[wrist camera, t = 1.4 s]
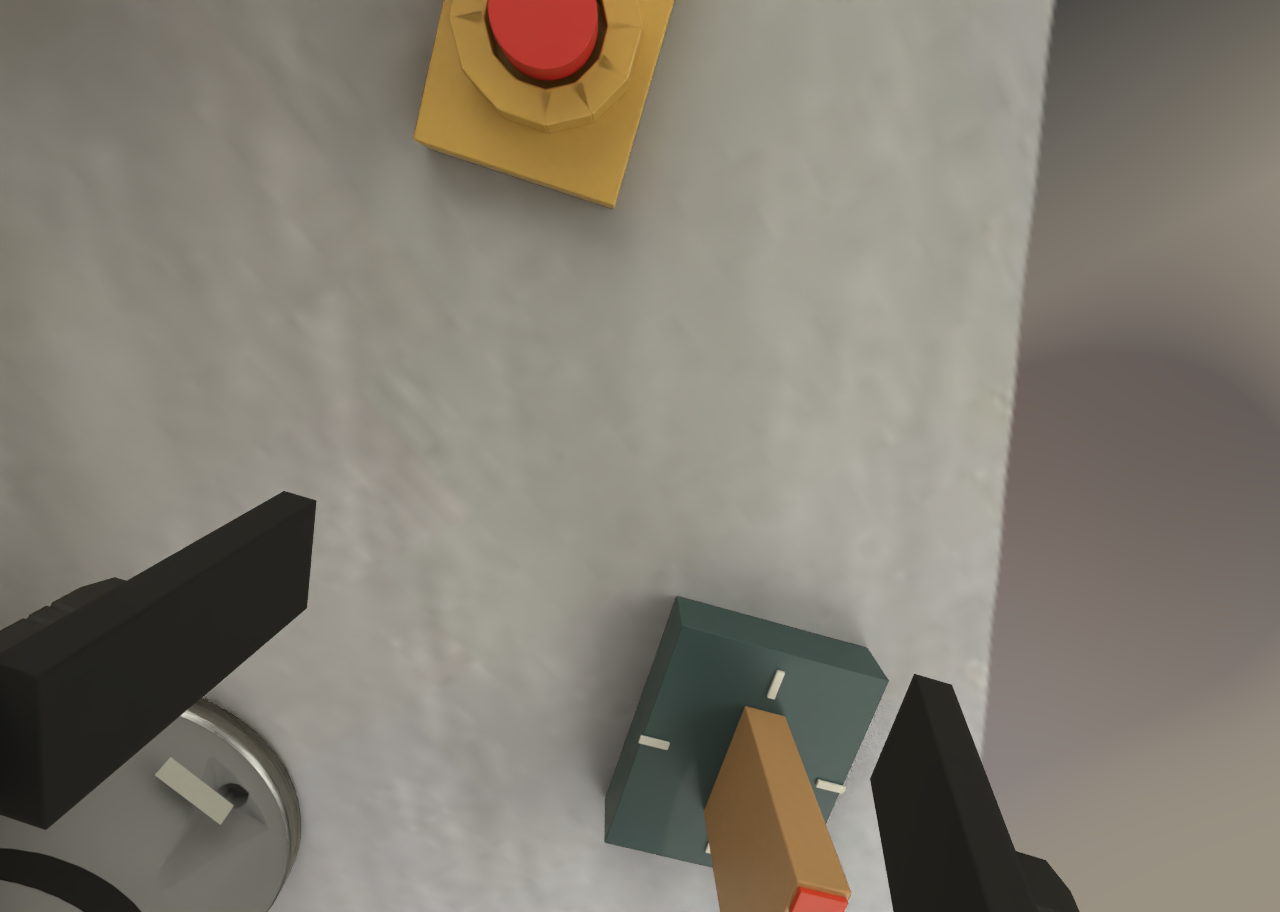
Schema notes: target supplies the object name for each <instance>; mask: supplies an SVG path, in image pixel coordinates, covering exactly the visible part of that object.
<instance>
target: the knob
mask: <svg viewBox="0 0 1280 912" xmlns="http://www.w3.org/2000/svg"><path fill="white" fill-rule="evenodd" d="M704 817H705V823H706V829H707V835H708V841H709V847H710V853H711V859H712V865H713V871H714V877H715V883H716V889H717V895H718V901H719V907H720V912H844V911H845V909H846V907H847V905H848V900H849V898H850V896H851V890H850V888H849V885H848V883H847V880H846V877H845V875H844V872H843V869H842V867H841V864H840V861H839V859H838V856H837V853H836V851H835V848H834V845H833V843H832V840H831V837H830V835H829V832H828V829H827V827H826V824H825V821H824V819H823V816H822V813H821V811H820V808H819V805H818V803H817V800H816V797H815V795H814V792H813V789H812V787H811V784H810V782H809V779H808V776H807V774H806V771H805V768H804V766H803V763H802V760H801V758H800V755H799V752H798V750H797V747H796V744H795V742H794V739H793V736H792V734H791V731H790V728H789V726H788V723H787V720H786V718H785V716H782V715H778V714H774V713H770V712H766V711H763V710H759V709H755V708H751V707H747V706H745V708H744V710H743V713H742V715H741V718H740V720H739V723H738V725H737V728H736V731H735V733H734V736H733V738H732V741H731V743H730V746H729V748H728V751H727V754H726V756H725V759H724V761H723V764H722V766H721V769H720V771H719V774H718V776H717V779H716V782H715V784H714V787H713V789H712V792H711V794H710V797H709V799H708V802H707V805H706V807H705V810H704Z"/></svg>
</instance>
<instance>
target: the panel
mask: <svg viewBox="0 0 1280 912" xmlns="http://www.w3.org/2000/svg"><path fill="white" fill-rule="evenodd" d="M888 682H889V680H888V679H887V677H886V676H885V674H884V673H883V671H882V670H881V668H880V666H879V665H878V663H877V662H876V660H875V659H874V657H873V656H872V654H871V653H870V651H869V650H868V648H865V647H862V646H858V645H854V644H851V643H847V642H843V641H840V640H836V639H832V638H829V637H825V636H821V635H818V634H814V633H810V632H807V631H803V630H799V629H796V628H792V627H789V626H785V625H781V624H778V623H774V622H770V621H767V620H763V619H759V618H756V617H752V616H748V615H745V614H741V613H737V612H734V611H730V610H726V609H723V608H719V607H715V606H712V605H708V604H704V603H701V602H697V601H693V600H690V599H686V598H682V597H679V596H677V597H676V599H675V602H674V605H673V608H672V611H671V613H670V616H669V619H668V622H667V625H666V628H665V631H664V633H663V636H662V639H661V642H660V645H659V648H658V650H657V653H656V656H655V659H654V662H653V665H652V667H651V670H650V673H649V676H648V679H647V682H646V684H645V687H644V690H643V693H642V696H641V699H640V701H639V704H638V707H637V710H636V713H635V716H634V718H633V721H632V724H631V727H630V730H629V733H628V735H627V738H626V741H625V744H624V747H623V750H622V752H621V755H620V758H619V761H618V764H617V767H616V770H615V772H614V775H613V778H612V781H611V784H610V787H609V789H608V792H607V795H606V798H605V843H609V844H613V845H618V846H622V847H626V848H631V849H635V850H639V851H643V852H648V853H652V854H656V855H661V856H665V857H669V858H674V859H678V860H682V861H686V862H691V863H695V864H699V865H704V866H708V867H712V868H713V865H712V859H711V853H710V847H709V841H708V835H707V829H706V823H705V817H704V810H705V807H706V805H707V802H708V799H709V797H710V794H711V792H712V789H713V787H714V784H715V782H716V779H717V776H718V774H719V771H720V769H721V766H722V764H723V761H724V759H725V756H726V754H727V751H728V748H729V746H730V743H731V741H732V738H733V736H734V733H735V731H736V728H737V725H738V723H739V720H740V718H741V715H742V713H743V710H744V708H745V706H747V707H751V708H755V709H759V710H763V711H766V712H770V713H774V714H778V715H782V716H785V718H786V720H787V723H788V726H789V728H790V731H791V734H792V736H793V739H794V742H795V744H796V747H797V750H798V752H799V755H800V758H801V760H802V763H803V766H804V768H805V771H806V774H807V776H808V779H809V782H810V784H811V787H812V789H813V792H814V795H815V797H816V800H817V803H818V805H819V808H820V811H821V813H822V816H823V819H824V821H825V824H826V822H827V820H828V818H829V815H830V813H831V811H832V808H833V806H834V804H835V802H836V799H837V797H838V795H839V793H841V794H844V792H845V789H846V787H845V786H843V784H844V781H845V779H846V777H847V774H848V772H849V770H850V768H851V765H852V763H853V761H854V759H855V756H856V754H857V752H858V750H859V747H860V745H861V743H862V740H863V738H864V736H865V734H866V731H867V729H868V727H869V725H870V722H871V720H872V718H873V716H874V713H875V711H876V709H877V706H878V704H879V702H880V700H881V697H882V695H883V693H884V691H885V688H886V686H887V684H888Z"/></svg>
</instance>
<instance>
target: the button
mask: <svg viewBox="0 0 1280 912" xmlns="http://www.w3.org/2000/svg"><path fill="white" fill-rule="evenodd" d="M488 17H489V22H490V25H491V29H492V31H493V34H494V36H495V38H496V40H497V42H498V44H499V46H500V47H501V49H502V51H503V53H504V55H505V56H506V58H507V59H508V60H509V62H510V63H511V64H512V65H513V66H514V67H515V68H516V69H518V70H519V71H520V72H522V73H523V74H525V75H527V76H529V77H531V78H534V79H538V80H544V81H554V80H560V79H563V78H566V77H568V76H570V75H572V74H574V73H575V72H577V71H578V70H579V69H580V68H581V67H582V66H583V65H584V64H585V63H586V62H587V60H588V59H589V57H590V56H591V54H592V52H593V50H594V47H595V44H596V40H597V35H598V13H597V2H596V0H488Z"/></svg>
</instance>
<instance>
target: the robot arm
mask: <svg viewBox="0 0 1280 912" xmlns="http://www.w3.org/2000/svg"><path fill="white" fill-rule="evenodd" d="M315 510H316V500H313V499H309V498H306V497H302V496H299V495H296V494H292V493H289V492H285V491H283V492H281V493H280V494H278V495H276V496H274V497H273V498H271V499H269V500H267V501H266V502H264V503H262V504H260V505H259V506H257V507H255V508H253V509H252V510H250V511H248V512H246V513H245V514H243V515H241V516H239V517H238V518H236V519H234V520H232V521H231V522H229V523H227V524H225V525H224V526H222V527H220V528H218V529H217V530H215V531H213V532H211V533H210V534H208V535H206V536H204V537H203V538H201V539H199V540H197V541H196V542H194V543H192V544H190V545H189V546H187V547H185V548H183V549H182V550H180V551H178V552H176V553H175V554H173V555H171V556H169V557H168V558H166V559H164V560H162V561H161V562H159V563H157V564H155V565H154V566H152V567H150V568H148V569H147V570H145V571H143V572H141V573H140V574H138V575H136V576H134V577H133V578H131V579H129V580H127V581H125V580H122V579H118V578H115V577H114V578H111V579H108V580H104V581H101V582H97V583H94V584H90V585H87V586H84V587H80V588H78V589H76V590H75V591H73V592H71V593H69V594H67V595H65V596H63V597H62V598H60V599H58V600H56V601H54V602H52V605H51V606H50V607H49V606H45V607H43V608H41V609H40V610H38V611H36V612H34V613H32V614H30V615H29V617H28V618H27V619H21V620H19V621H17V622H16V623H14V624H12V625H10V626H8V627H6V628H4V629H3V630H1V631H0V912H267V911H268V910H269V909H270V908H271V906H272V905H273V903H274V901H275V900H276V898H277V896H278V894H279V893H280V891H281V889H282V887H283V885H284V883H285V881H286V879H287V877H288V875H289V873H290V871H291V869H292V867H293V864H294V862H295V859H296V856H297V853H298V850H299V844H300V838H301V815H300V809H299V803H298V799H297V796H296V793H295V789H294V787H293V784H292V782H291V780H290V777H289V775H288V774H287V772H286V770H285V768H284V766H283V765H282V763H281V762H280V760H279V759H278V757H277V756H276V755H275V753H274V752H273V751H272V749H271V748H270V747H269V746H268V745H267V744H266V742H265V741H264V740H263V739H262V738H261V737H260V736H259V735H258V734H257V733H256V732H255V731H253V730H252V729H251V728H250V727H249V726H247V725H246V724H245V723H244V722H242V721H241V720H240V719H238V718H237V717H235V716H234V715H232V714H231V713H229V712H228V711H226V710H224V709H222V708H221V707H219V706H217V705H215V704H213V703H211V702H209V701H207V700H205V699H203V698H202V697H203V696H204V695H205V694H207V693H208V692H209V691H210V690H211V689H212V688H214V687H215V686H216V685H217V684H218V683H219V682H221V681H222V680H223V679H224V678H225V677H227V676H228V675H229V674H230V673H231V672H232V671H234V670H235V669H236V668H237V667H238V666H239V665H241V664H242V663H243V662H244V661H245V660H246V659H248V658H249V657H250V656H251V655H252V654H254V653H255V652H256V651H257V650H258V649H259V648H261V647H262V646H263V645H264V644H265V643H266V642H268V641H269V640H270V639H271V638H272V637H273V636H275V635H276V634H277V633H278V632H279V631H281V630H282V629H283V628H284V627H285V626H286V625H288V624H289V623H290V622H291V621H292V620H293V619H295V618H296V617H297V616H298V615H299V614H300V613H302V612H303V611H304V610H305V609H306V608H307V601H308V589H309V578H310V567H311V555H312V544H313V533H314V522H315ZM870 780H871V786H872V792H873V797H874V803H875V809H876V814H877V820H878V826H879V831H880V837H881V843H882V849H883V854H884V860H885V866H886V871H887V877H888V883H889V888H890V894H891V900H892V905H893V911H894V912H1079V910H1078V907H1077V905H1076V903H1075V900H1074V898H1073V896H1072V894H1071V892H1070V890H1069V889H1068V888H1067V886H1066V885H1065V884H1064V882H1063V881H1062V880H1061V879H1060V877H1059V876H1058V875H1057V874H1056V872H1055V871H1054V870H1053V869H1052V868H1051V866H1050V865H1049V864H1048V862H1047V861H1046V860H1043V859H1039V858H1037V857H1033V856H1030V855H1026V854H1023V853H1020V852H1017V851H1015V848H1014V846H1013V843H1012V841H1011V838H1010V835H1009V833H1008V830H1007V827H1006V825H1005V823H1004V820H1003V817H1002V814H1001V812H1000V809H999V807H998V804H997V801H996V799H995V796H994V794H993V791H992V788H991V786H990V783H989V781H988V778H987V775H986V773H985V770H984V768H983V765H982V762H981V760H980V757H979V754H978V752H977V749H976V747H975V744H974V741H973V739H972V736H971V734H970V731H969V728H968V726H967V723H966V721H965V718H964V715H963V713H962V710H961V708H960V705H959V702H958V700H957V697H956V694H955V692H954V689H953V687H952V685H951V684H947V683H944V682H940V681H937V680H933V679H930V678H927V677H923V676H920V675H916V674H914V676H913V678H912V681H911V683H910V685H909V688H908V690H907V693H906V695H905V697H904V700H903V702H902V704H901V707H900V709H899V712H898V714H897V716H896V719H895V721H894V723H893V726H892V728H891V731H890V733H889V735H888V738H887V740H886V742H885V745H884V747H883V750H882V752H881V754H880V757H879V759H878V762H877V764H876V766H875V769H874V771H873V773H872V776H871V778H870Z"/></svg>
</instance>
